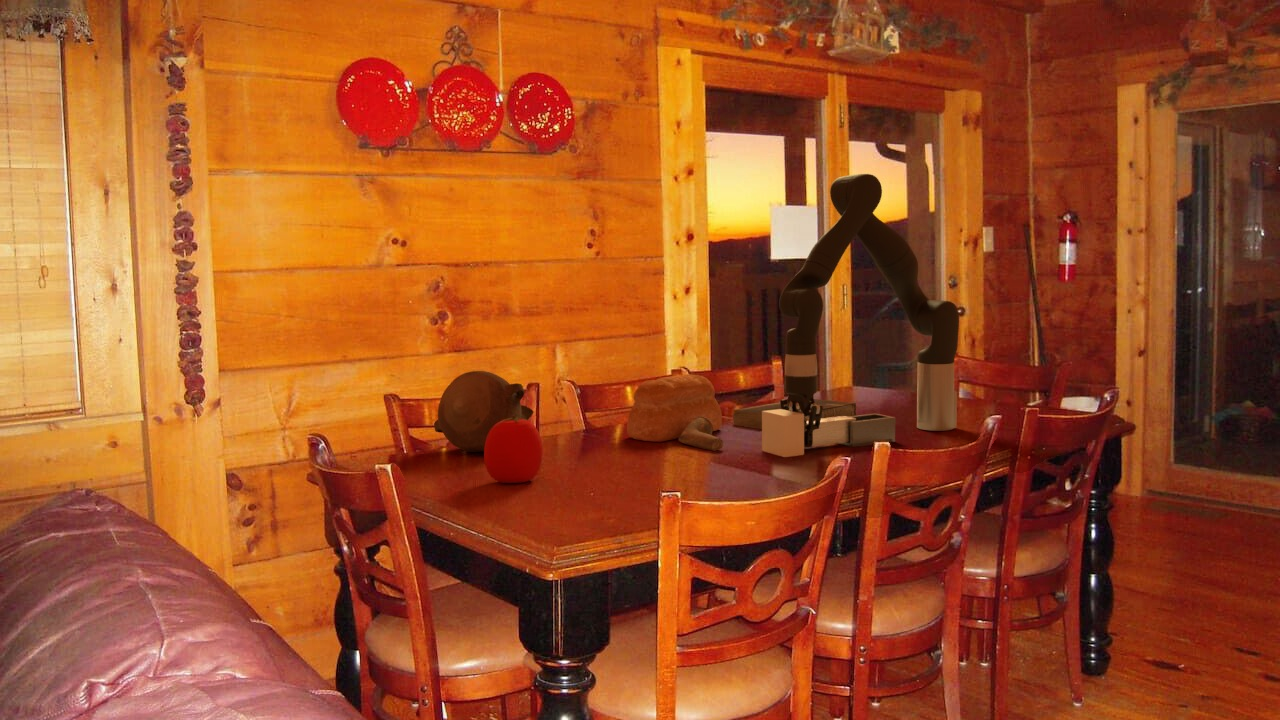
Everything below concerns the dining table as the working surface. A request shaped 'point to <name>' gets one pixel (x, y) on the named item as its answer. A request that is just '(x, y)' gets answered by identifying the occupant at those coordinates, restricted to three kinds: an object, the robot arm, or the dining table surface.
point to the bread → (671, 407)
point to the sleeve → (871, 429)
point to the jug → (477, 408)
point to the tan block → (783, 432)
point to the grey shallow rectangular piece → (754, 414)
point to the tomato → (513, 451)
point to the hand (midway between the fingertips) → (801, 444)
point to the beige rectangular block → (832, 430)
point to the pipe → (701, 435)
